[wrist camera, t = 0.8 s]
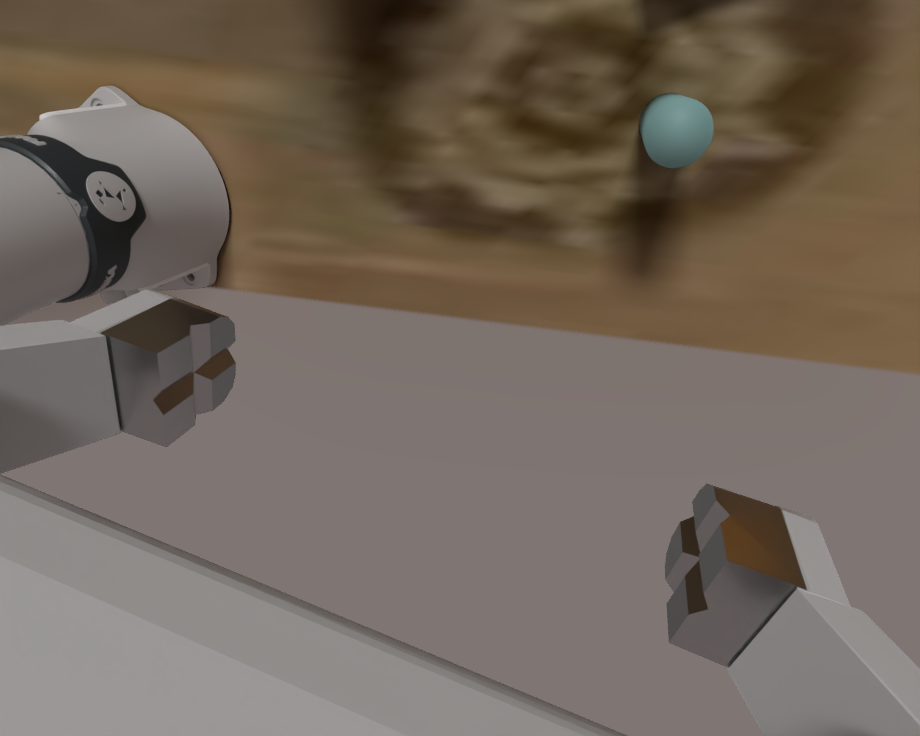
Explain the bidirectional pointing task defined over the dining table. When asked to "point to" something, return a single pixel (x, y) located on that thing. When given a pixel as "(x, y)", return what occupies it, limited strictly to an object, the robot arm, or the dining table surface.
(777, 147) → the dining table surface
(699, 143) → the peg
